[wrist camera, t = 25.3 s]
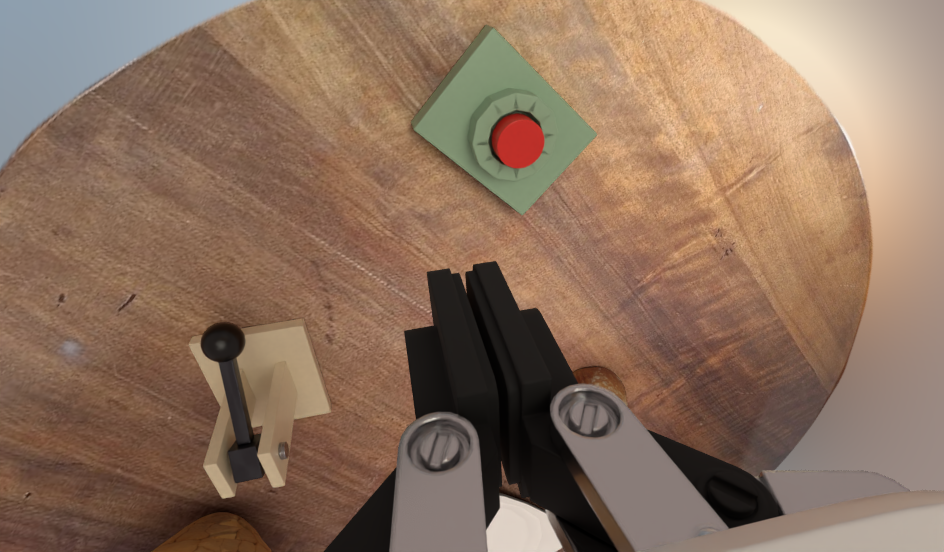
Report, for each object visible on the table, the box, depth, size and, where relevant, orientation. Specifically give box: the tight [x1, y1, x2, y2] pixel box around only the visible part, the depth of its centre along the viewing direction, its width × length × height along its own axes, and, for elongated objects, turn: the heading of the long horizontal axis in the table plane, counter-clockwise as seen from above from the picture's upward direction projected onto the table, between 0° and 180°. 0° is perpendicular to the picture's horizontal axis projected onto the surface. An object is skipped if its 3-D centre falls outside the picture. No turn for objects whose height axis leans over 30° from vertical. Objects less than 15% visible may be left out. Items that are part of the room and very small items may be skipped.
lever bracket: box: [189, 318, 331, 499], centre depth 43 cm, size 12×10×12 cm
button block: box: [411, 25, 597, 215], centre depth 37 cm, size 12×9×4 cm
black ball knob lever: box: [200, 322, 265, 483], centre depth 39 cm, size 13×3×3 cm, turn 3°
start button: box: [492, 114, 545, 168], centre depth 35 cm, size 4×4×2 cm
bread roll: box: [573, 367, 627, 406], centre depth 58 cm, size 10×10×8 cm
